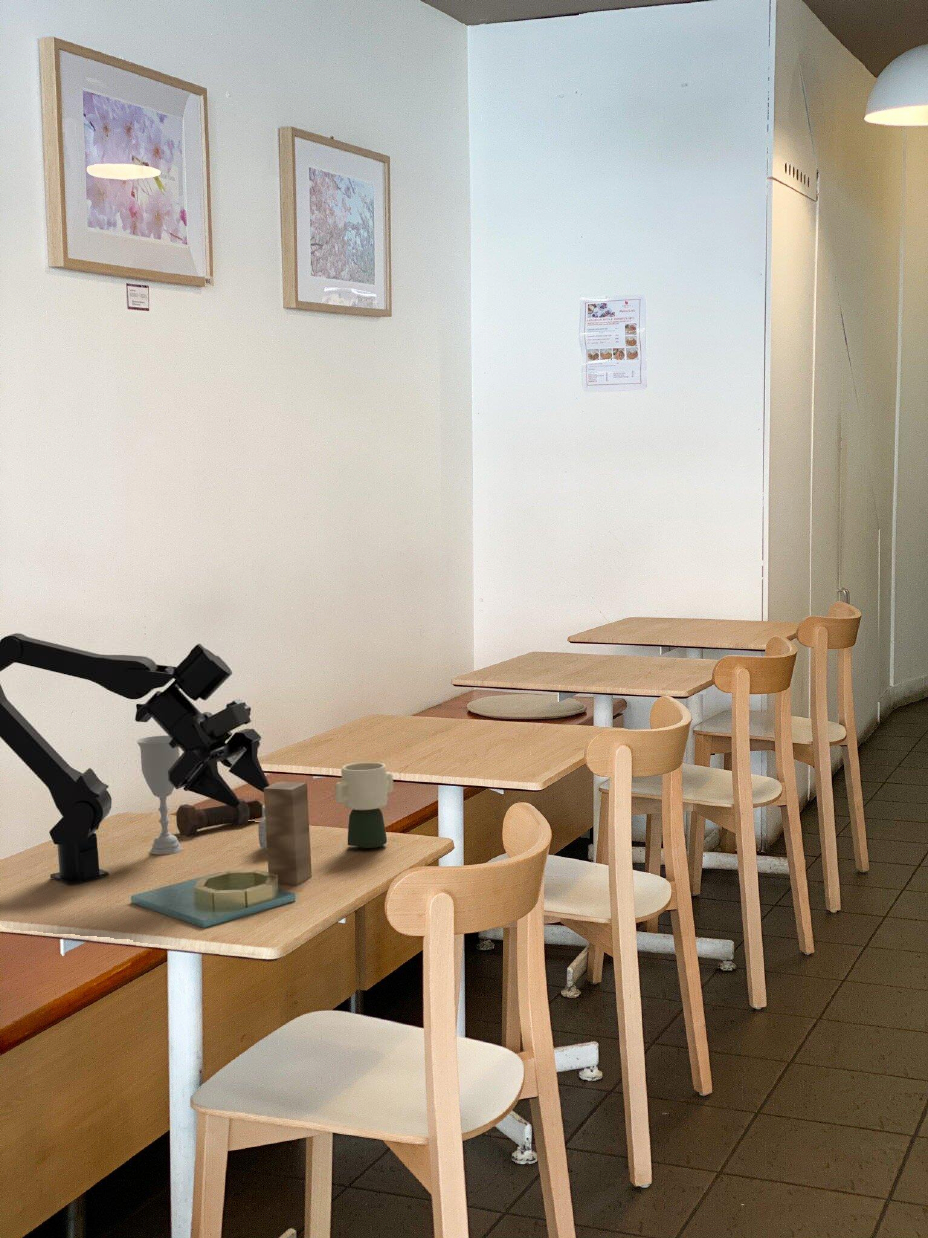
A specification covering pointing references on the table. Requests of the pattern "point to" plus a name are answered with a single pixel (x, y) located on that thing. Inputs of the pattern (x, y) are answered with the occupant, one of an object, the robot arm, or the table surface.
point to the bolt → (216, 816)
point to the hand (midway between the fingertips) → (253, 798)
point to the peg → (288, 832)
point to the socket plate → (196, 911)
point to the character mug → (365, 801)
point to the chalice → (160, 785)
